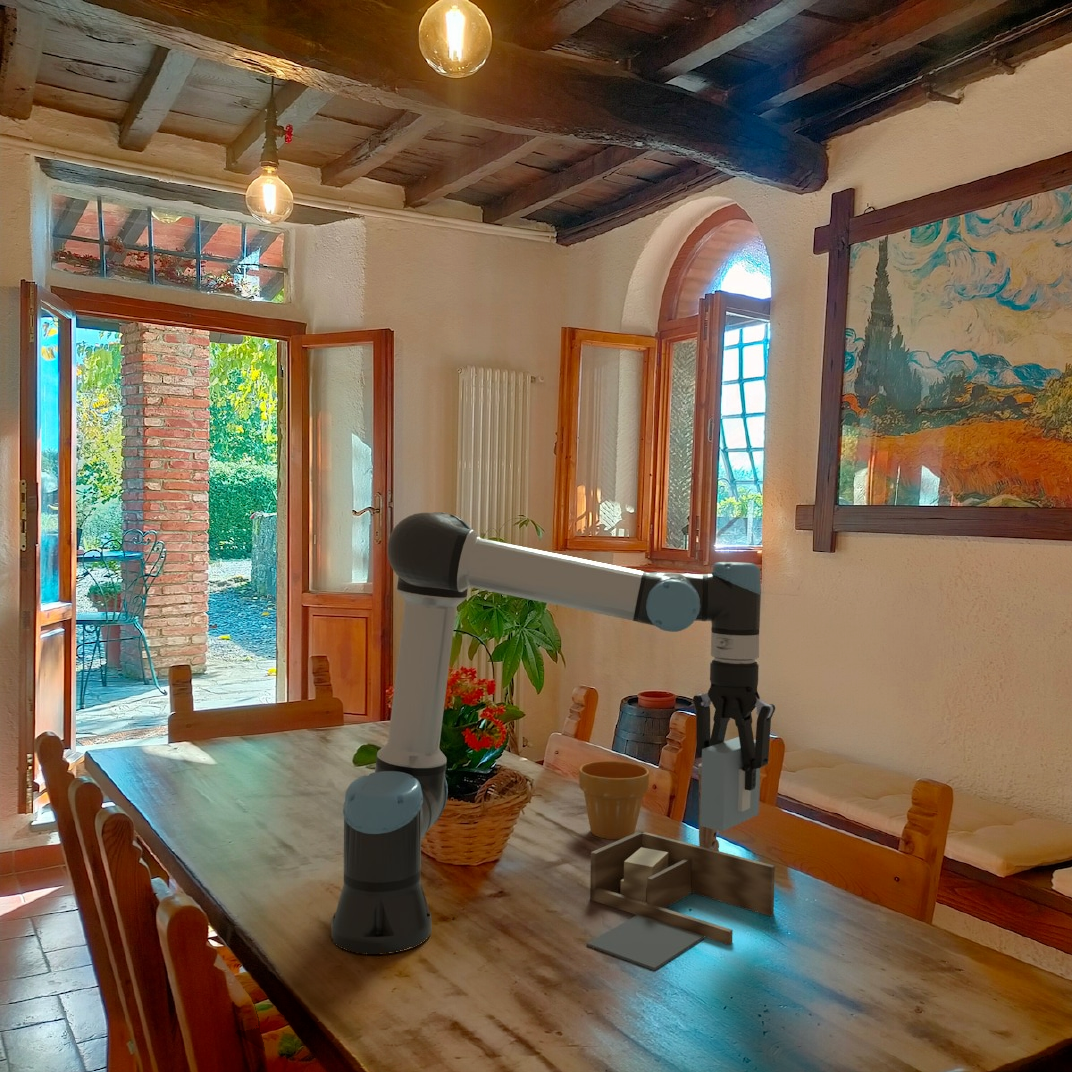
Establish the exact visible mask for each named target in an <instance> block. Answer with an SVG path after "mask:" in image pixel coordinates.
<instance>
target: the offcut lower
mask: <svg viewBox="0 0 1072 1072" xmlns="http://www.w3.org/2000/svg"><path fill="white" fill-rule="evenodd" d="M619 894H621V895H624V896H627V897H630V898H633V899H637V900H640V901H643V902H646V903H647V887H645V886H640V885H635V884H630V883H625V882H624V879H622V880H621V888H620V893H619Z"/></svg>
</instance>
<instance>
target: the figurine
mask: <svg viewBox="0 0 1072 1072" xmlns="http://www.w3.org/2000/svg"><path fill="white" fill-rule="evenodd" d="M701 771H702V762H701V763H698V765H697V776H698V777H697V779H698V792H697V793H698V806H699V807H698V846H701V847H705V848H709V849H712V850H716V851H720V843H719V840H718V839H717V833H718V832H717V831H718V830H714V829H711V828H707V827H703V826H700V807H701Z"/></svg>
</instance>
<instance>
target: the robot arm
mask: <svg viewBox="0 0 1072 1072" xmlns="http://www.w3.org/2000/svg"><path fill="white" fill-rule="evenodd" d="M386 550H387V551H386V552H387V553H386V554H387V560H388V562H389V564H390V567H391V569H392V571H393V572H394V573H395V575H397V587H396V591H397V593H398V594H399V595H400V597H401V598H402V599H403V601H404V606H403V615H402V623H401V631H400V639H399V646H398V648H399V649H398V654H397V663H396V671H395V681H394V687H393V688H394V689H393V697H392V703H391V706H392V707H391V713H390V721H389V728H388V729H389V730H388V738H387V743H386V744H385V745H384V746H382V748H380V749H379V750H378V751H377V753H376V760H375V768H374V772H371V773H369V774H368V775H362V776H360V777H358V778H355V779H354V780H353V781H352V782H350V784H349V786H347V789H346V791H345V794H344V802H343V809H342V814H343V883H342V884H343V885H342V888H341V893H340V896H339V899H338V902H337V907H336V910H335V912H334V914H333V917H332V919H331V924H330V925H331V927H330V929H331V930H330V931H331V932H330V933H331V934H330V938H331V940H332V939H333V941H334V942H335V943H336V944H337V945H338V946H340V947H342V948H345V949H347V950H349V951H348V952H350V951H353V952H358V953H357V954H359V953H365V954H364V955H367V954H380V953H389V952H396V951H400V950H404V949H407V948H409V947H414V946H416V945H418V944H420V943H421V942H423V941H424V940H426V938H428V937H429V935H430V933H431V934H432V914H431V911H430V909H429V907H428V906H429V905H428V903H427V898H426V895H425V892H424V889H423V887H422V883H421V882H422V881H421V872H422V871H421V869H422V866H421V864H422V859H421V858H422V857H421V856H422V839H423V838H424V837H425V836H426V834H427V832H428V831H429V830H430V829H431V827H433V826H434V825H435V824H436V823H437V822H438V821H439V818H440V817H441V815H442V814H443V811H444V810H445V808H446V804H447V802H448V793H449V791H448V790H449V789H448V782H447V779H446V769H447V760H448V759H447V757H446V756H445V754H444V753H443V751H441V749H440V743H441V735H442V728H443V719H444V718H443V717H444V711H445V703H446V702H445V701H446V696H447V695H446V694H447V687H448V685H447V684H448V679H449V678H448V677H449V670H450V669H449V668H450V661H451V653H452V647H453V640H454V639H453V637H454V628H455V622H456V621H455V620H456V615H457V614H456V612H457V607H458V606H459V605H460V604H462V603H463V602H464V601H465V600H467V597H468V591H469V589H470V588H473V589H478V590H483V591H486V592H487V591H488V592H492V593H497V594H501V595H505V596H506V595H508V596H511V597H515V598H521V599H525V600H531V601H536V602H539V603H540V602H541V603H544V604H549V605H555V606H560V607H565V608H570V609H574V610H578V611H579V610H581V611H585V612H589V613H595V614H598V615H604V616H608V617H612V618H613V617H614V618H618V619H623V620H628V621H632V622H637V623H639V624H646V625H650V626H654V627H656V628H658V629H659V630H662V631H664V632H671V633H672V632H673V633H675V632H676V633H677V632H681V631H685V630H686V629H688V628H690V626H692V624H693V623H694V622H711V627H710V629H711V631H710V633H711V634H710V636H711V637H710V656H711V657H712V658H714V659H712V660H711V661H710V662H709V664H710V665H709V667H710V668H709V681H710V687H709V688H708V691H707V692H705V693H700V694H696V695H693V697H692V700H693V703H694V708H695V710H696V716H695V718H696V719H695V720H696V722H695V723H696V728H695V729H696V731H695V732H696V737H695V738H696V755H697V756H698V757H701V758H702V749H704V748H707V747H710V746H713V745H716V744H719V743H722V742H725V738H726V733H727V728H728V723H729V722H730V721H731V720H734V723H735V726H736V728H737V733H738V737H739V740H740V747H741V753H742V760H743V766H744V767H741V768H742V769H739V785H738V811H741V812H743V811H745V810H747V809H749V808H750V794H751V790H753V789H755V786H756V769H757V768H760V769H761V768H763V767H766V766H767V765H769V759H770V757H769V756H770V754H769V753H770V740H771V725H772V718H773V716H774V713H775V711H776V706H775V705H774V703H769V704H768V703H766V702H764V701H763V700H761V697H760V694H759V693H758V685H759V666H760V664H759V663H758V662H757V661H756V660H757V659H759V658H760V629H761V628H760V626H761V625H760V624H761V604H762V603H761V600H762V597H761V596H762V589H761V588H762V587H761V570H760V567H759V566H758V565H757V564H755V563H753V562H752V563H751V562H737V561H736V562H735V561H728V562H727V561H719V562H715V563H714V564H713V565H712V570H711V573H702V574H699V573H698V574H695V573H680V572H678V573H677V572H662V571H656V572H655V571H654V572H647V571H642V570H637V569H634V568H628V567H623V566H618V565H613V564H608V563H603V562H598V561H593V560H588V559H584V558H579V557H573V556H571V555H570V556H569V555H564V554H561V553H560V554H559V553H554V552H549V551H544V550H540V549H535V548H531V547H526V546H521V545H515V544H510V543H505V542H502V541H496V540H491V539H486V538H482V537H480V536H479V534H478V532H477V531H476V530H475V529H472V528H471V527H470V526H469V525H468V524H467V523H466V522H465V521H464V520H462V519H461V518H459V517H458V516H456V515H454V514H451V513H450V514H449V513H446V512H437V511H435V512H419V513H414V514H413V513H412V514H411V515H408V516H407V517H405V518H404V519H402V520H401V521H399V522H398V523H397V524H396V525H395V526H394V528H393V529H392V530H391V532H390V535H389V537H388V542H387V549H386ZM711 704H712V705H713V707H714V714H713V717H712V718H713V719H712V720H713V725H712V729H711ZM755 708H756V713H755V714H757V719H756V726H755V729H756V730H755V739H754V731H753V725H752V724H753V717H752V713H753V712H754V709H755ZM754 740H756V742H755V744H754ZM430 936H431V935H430ZM429 938H430V937H429ZM429 938H428V939H429ZM333 941H332V942H333ZM426 941H427V940H426ZM334 942H333V943H334ZM335 943H334V944H335ZM336 944H335V945H336ZM337 945H336V946H337ZM338 946H337V947H338ZM340 947H339V948H340ZM342 948H341V949H342ZM347 950H346V951H347ZM353 952H352V953H353ZM366 953H367V954H366Z"/></svg>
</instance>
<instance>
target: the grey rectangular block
mask: <svg viewBox="0 0 1072 1072" xmlns="http://www.w3.org/2000/svg"><path fill="white" fill-rule="evenodd" d="M755 742H756V739H754V744H755ZM701 763H702V771H701V807H700V826H703V827H707V828H711V829H714V830H717V831H719V832H725V831H728V830H729V829H731V828H733V827H735V826H737V825H739V824H741V823H742V824H743V822H746V821H748V820H750V819H752V818H755V817H756V816H758V815H760V793H761V791H760V790H761V789H760V788H761V787H760V785H761V768H757V769H756V786H755V789H753V790H751V794H750V808H749V809H747V810H745V811H743V812H741V811H738V785H739V769H742V768H741V767H744V766H743V760H742V753H741V747H740V740H739V736H737V737H734V738H731V739H728V740H724V742H722V743H719V744H716V745H713V746H710V747H707V748H704V749H702V757H701Z"/></svg>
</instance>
